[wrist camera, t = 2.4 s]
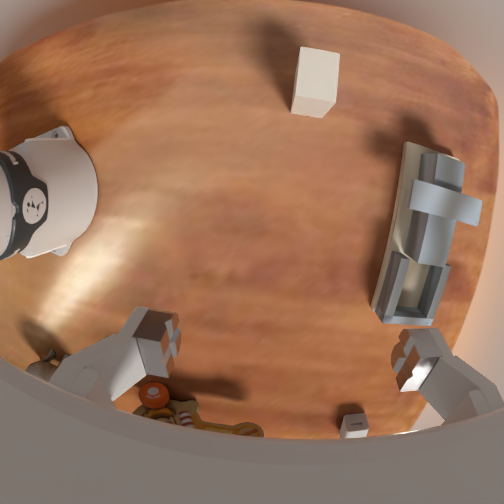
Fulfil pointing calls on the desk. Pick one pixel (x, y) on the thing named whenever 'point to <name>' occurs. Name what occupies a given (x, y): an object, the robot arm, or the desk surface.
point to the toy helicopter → (184, 412)
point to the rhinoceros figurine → (44, 367)
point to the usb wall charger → (354, 426)
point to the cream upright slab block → (315, 82)
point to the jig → (421, 236)
